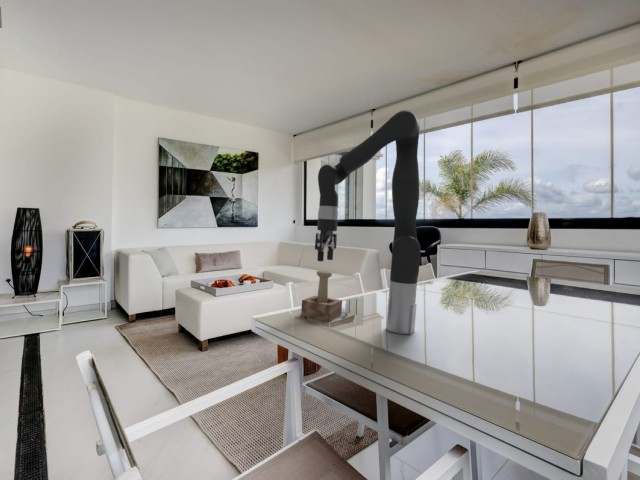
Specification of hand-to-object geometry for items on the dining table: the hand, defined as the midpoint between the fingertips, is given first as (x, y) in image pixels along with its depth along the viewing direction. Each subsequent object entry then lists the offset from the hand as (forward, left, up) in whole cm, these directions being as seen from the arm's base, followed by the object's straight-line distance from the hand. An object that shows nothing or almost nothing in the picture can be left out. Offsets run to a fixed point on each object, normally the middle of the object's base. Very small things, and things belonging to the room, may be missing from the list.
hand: (325, 260), depth 128 cm
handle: (0, 0, -20) cm, 20 cm away
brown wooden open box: (0, 0, -21) cm, 21 cm away
